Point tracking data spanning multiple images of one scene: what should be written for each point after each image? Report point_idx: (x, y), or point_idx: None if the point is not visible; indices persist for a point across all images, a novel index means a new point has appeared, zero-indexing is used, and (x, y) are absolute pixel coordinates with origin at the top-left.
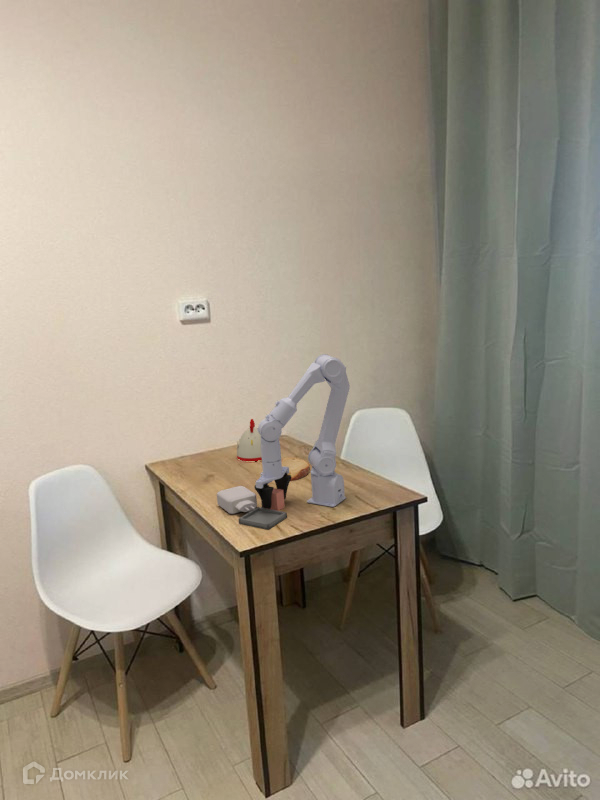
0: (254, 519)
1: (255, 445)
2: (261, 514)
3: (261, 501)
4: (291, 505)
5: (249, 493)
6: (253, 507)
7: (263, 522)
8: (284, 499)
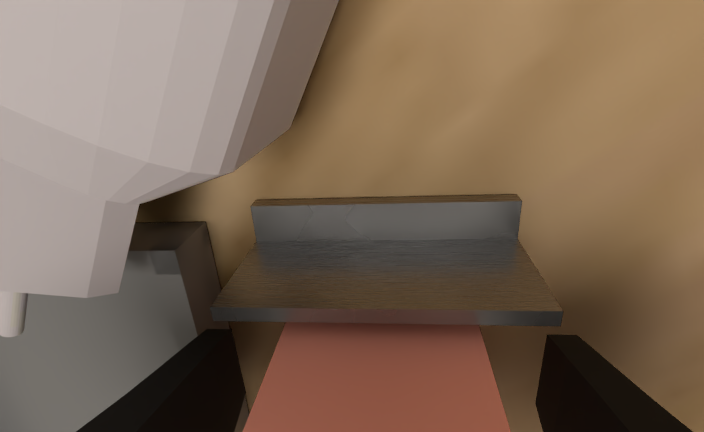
0: (16, 336)
1: None
2: (134, 331)
3: (217, 300)
4: (516, 417)
5: (25, 82)
6: (2, 322)
7: (41, 425)
8: (540, 406)
